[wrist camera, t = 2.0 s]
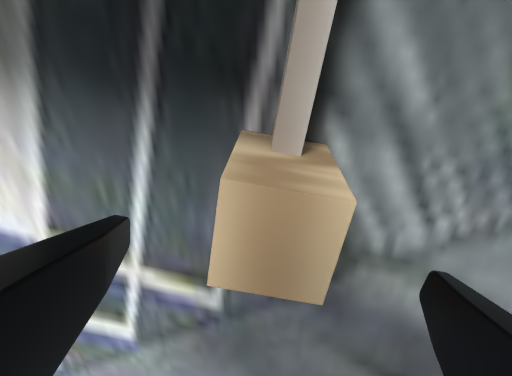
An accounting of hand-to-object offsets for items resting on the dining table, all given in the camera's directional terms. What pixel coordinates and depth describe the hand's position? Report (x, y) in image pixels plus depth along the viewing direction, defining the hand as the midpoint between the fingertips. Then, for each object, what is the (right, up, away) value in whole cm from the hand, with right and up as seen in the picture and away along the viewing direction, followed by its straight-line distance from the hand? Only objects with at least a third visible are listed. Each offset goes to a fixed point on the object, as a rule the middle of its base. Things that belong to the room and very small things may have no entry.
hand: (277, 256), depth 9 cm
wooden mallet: (+1, +7, +4) cm, 8 cm away
